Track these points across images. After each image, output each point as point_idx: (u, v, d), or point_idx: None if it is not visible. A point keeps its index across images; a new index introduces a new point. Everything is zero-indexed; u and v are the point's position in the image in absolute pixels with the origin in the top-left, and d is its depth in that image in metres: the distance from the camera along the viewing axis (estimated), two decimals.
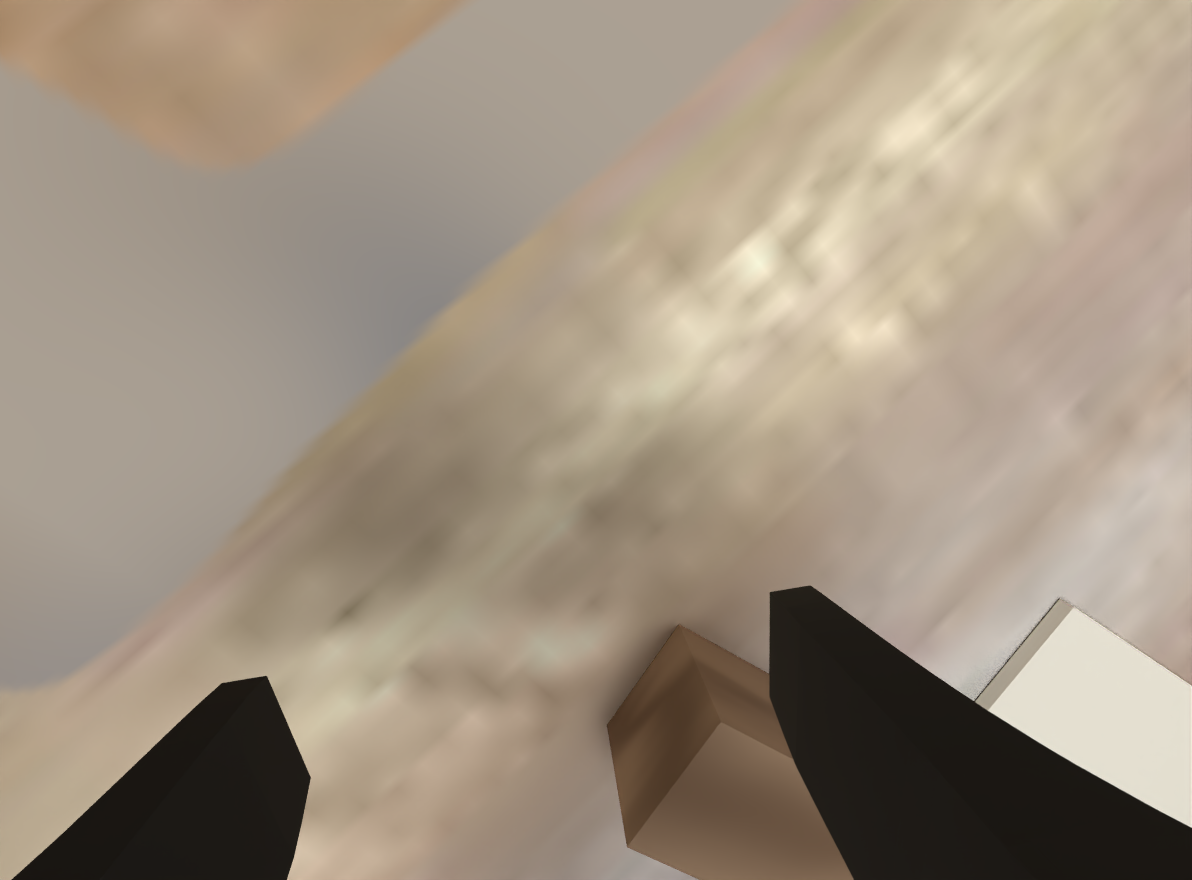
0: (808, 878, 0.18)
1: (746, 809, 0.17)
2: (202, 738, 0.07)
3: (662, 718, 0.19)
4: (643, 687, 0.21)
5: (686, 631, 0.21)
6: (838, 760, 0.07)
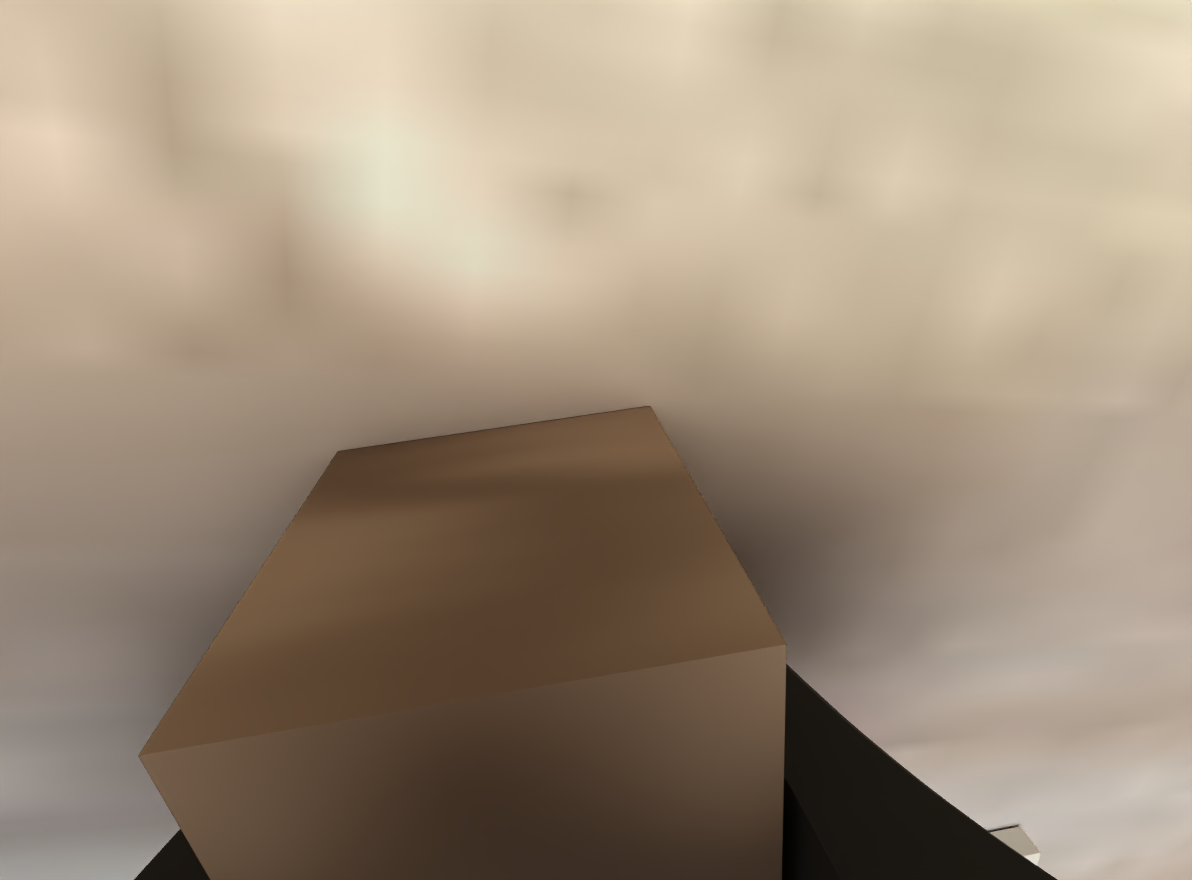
0: None
1: None
2: None
3: (517, 520, 0.06)
4: (487, 447, 0.08)
5: None
6: None
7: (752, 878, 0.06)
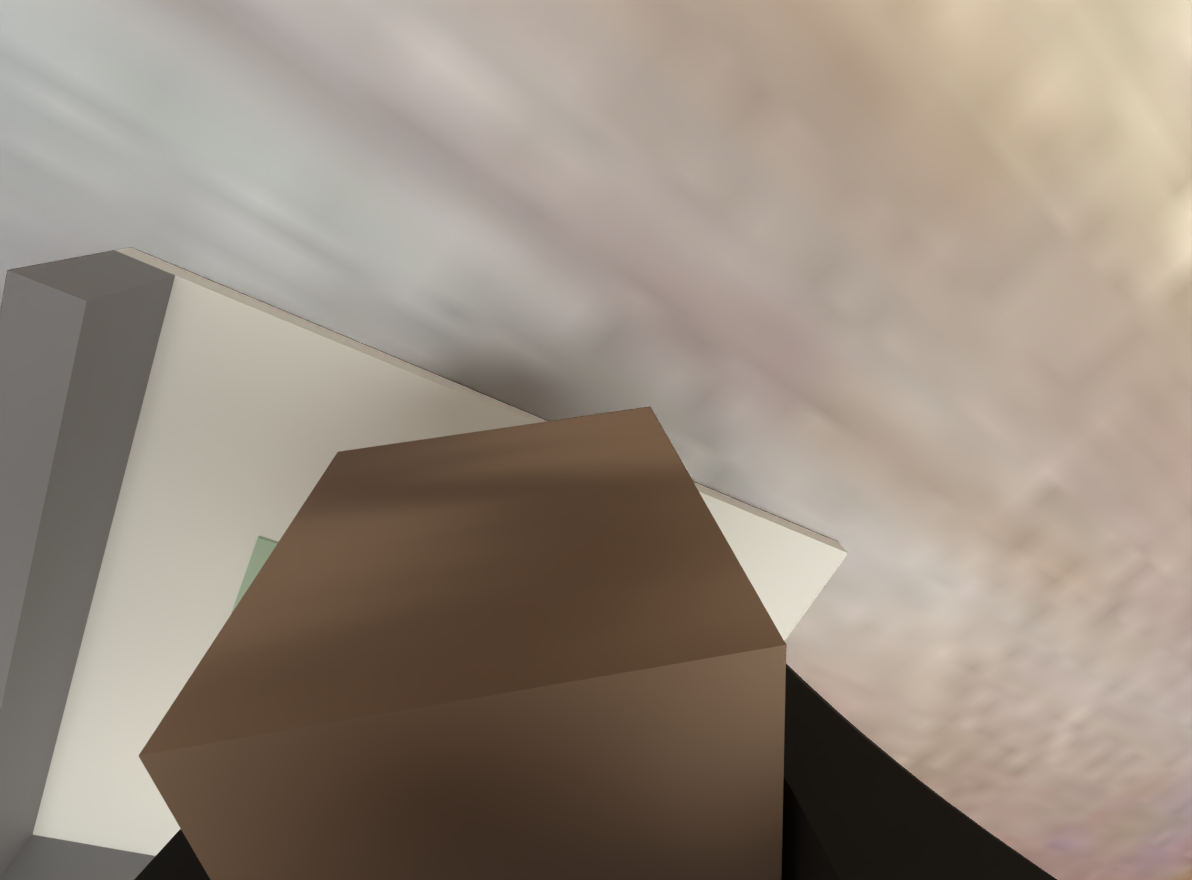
0: None
1: None
2: None
3: (518, 521, 0.06)
4: (487, 448, 0.08)
5: None
6: None
7: (752, 878, 0.06)
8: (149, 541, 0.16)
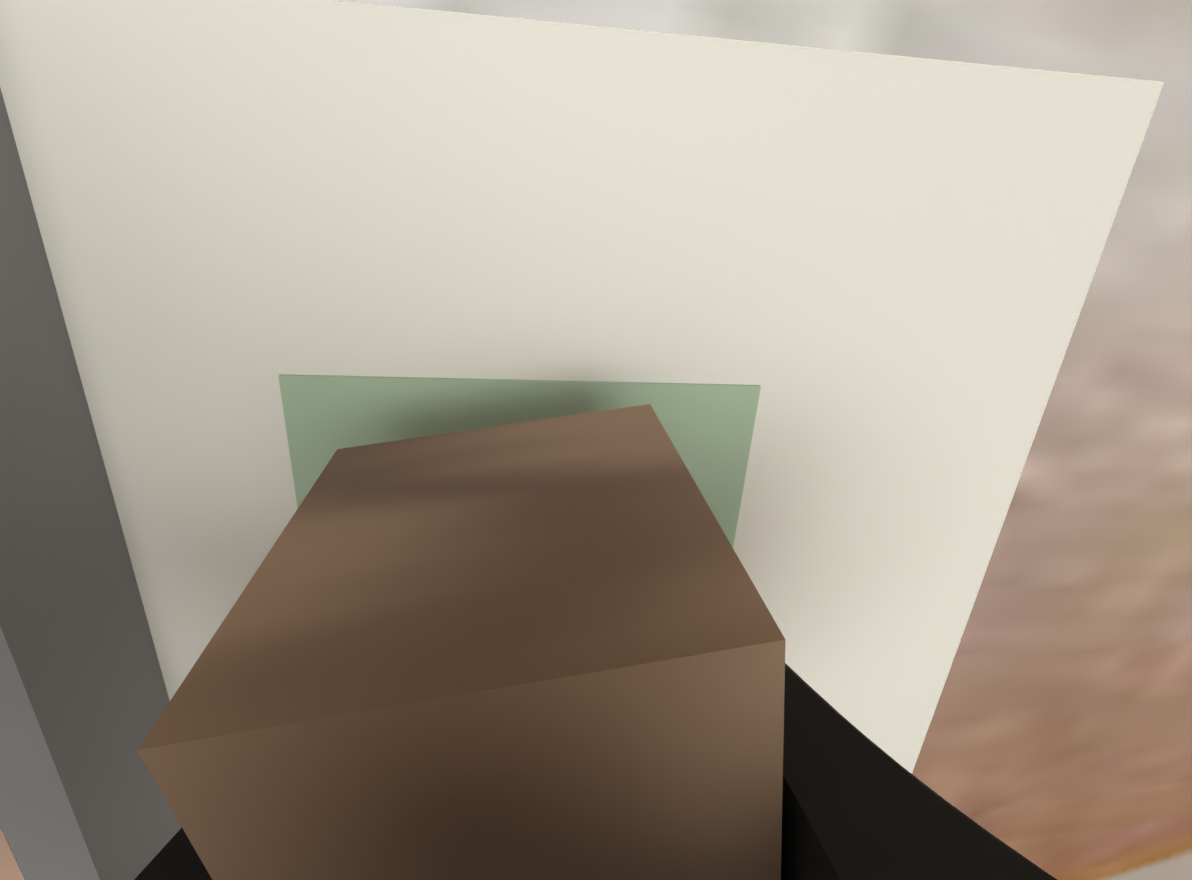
0: None
1: None
2: None
3: (517, 517, 0.06)
4: (487, 445, 0.08)
5: None
6: None
7: (751, 874, 0.06)
8: (150, 433, 0.11)
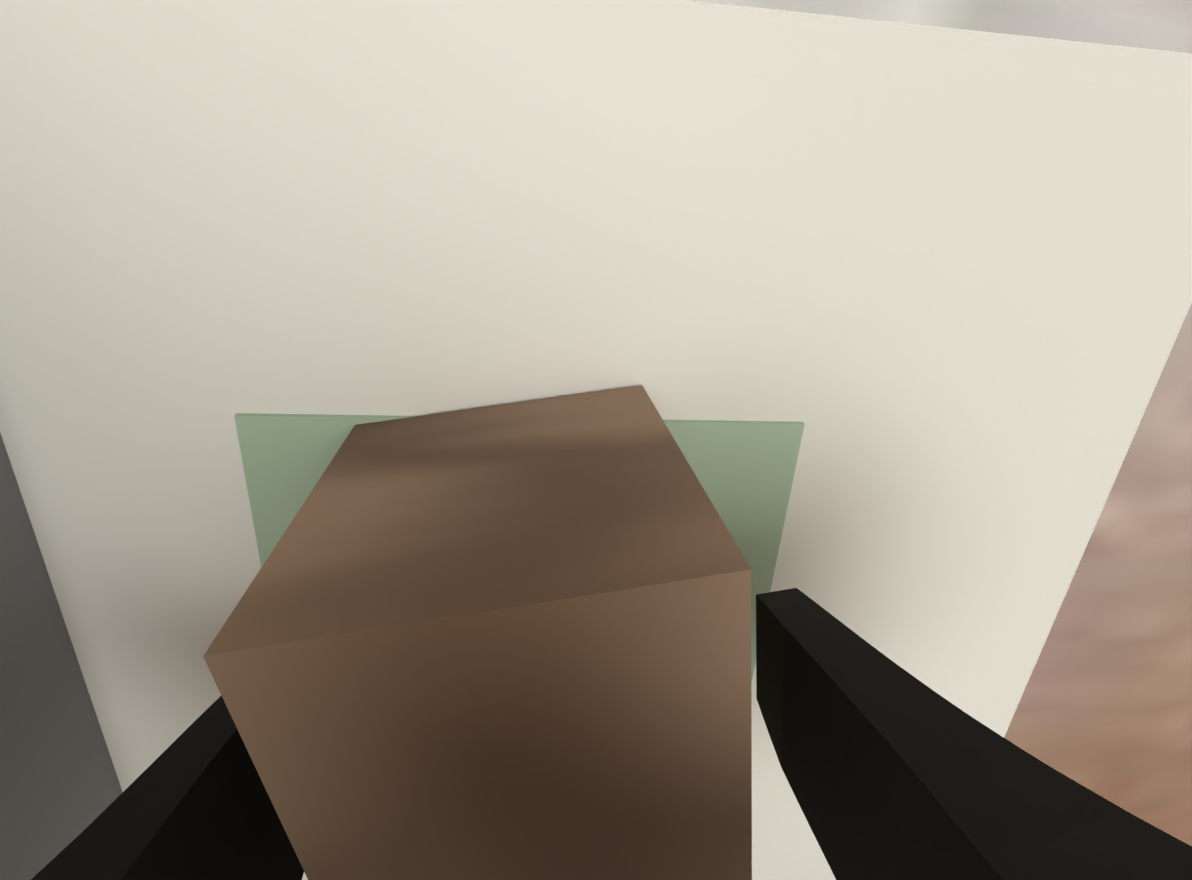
0: None
1: (560, 792, 0.06)
2: (220, 735, 0.07)
3: (521, 480, 0.07)
4: (493, 420, 0.09)
5: None
6: (821, 763, 0.07)
7: (726, 787, 0.06)
8: (83, 482, 0.09)
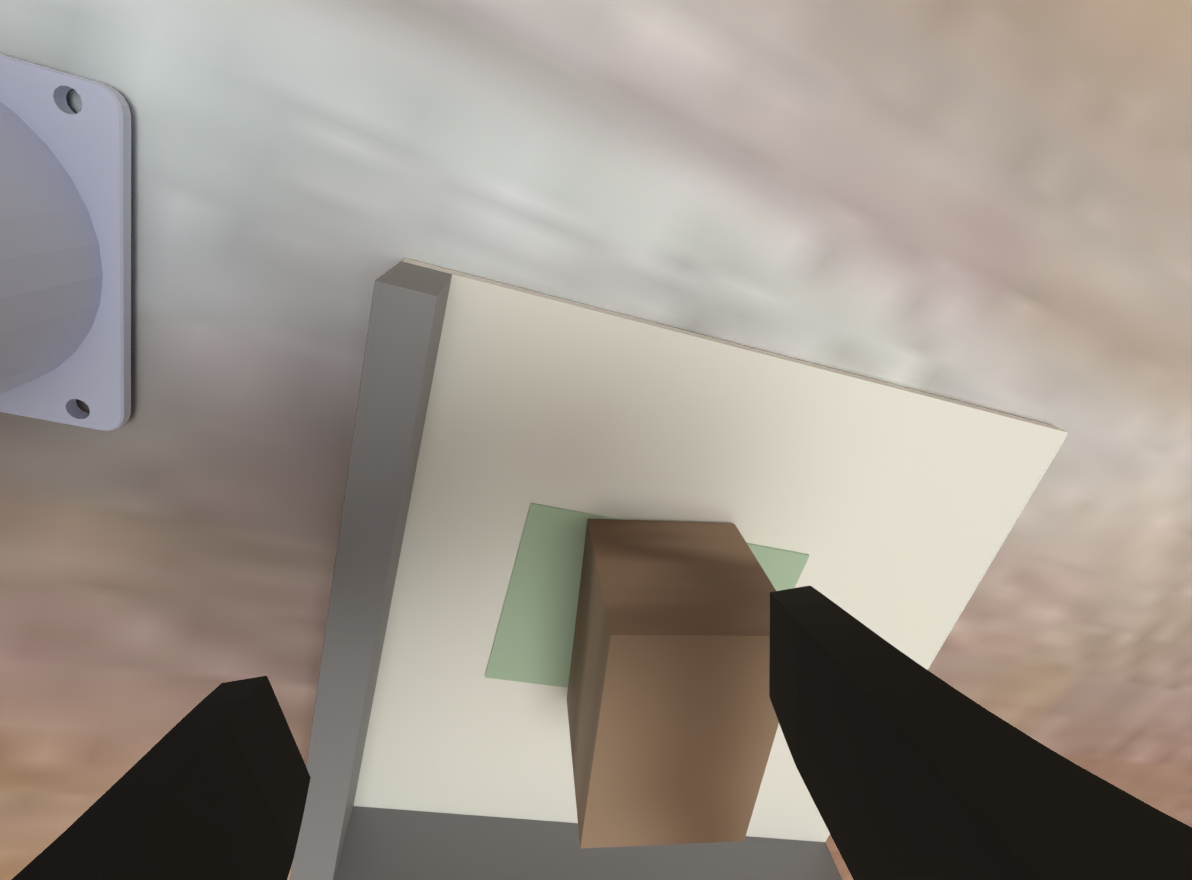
0: (644, 802, 0.16)
1: (706, 711, 0.15)
2: (202, 738, 0.07)
3: (696, 575, 0.16)
4: (664, 532, 0.18)
5: None
6: (838, 760, 0.07)
7: (768, 722, 0.15)
8: (439, 522, 0.18)
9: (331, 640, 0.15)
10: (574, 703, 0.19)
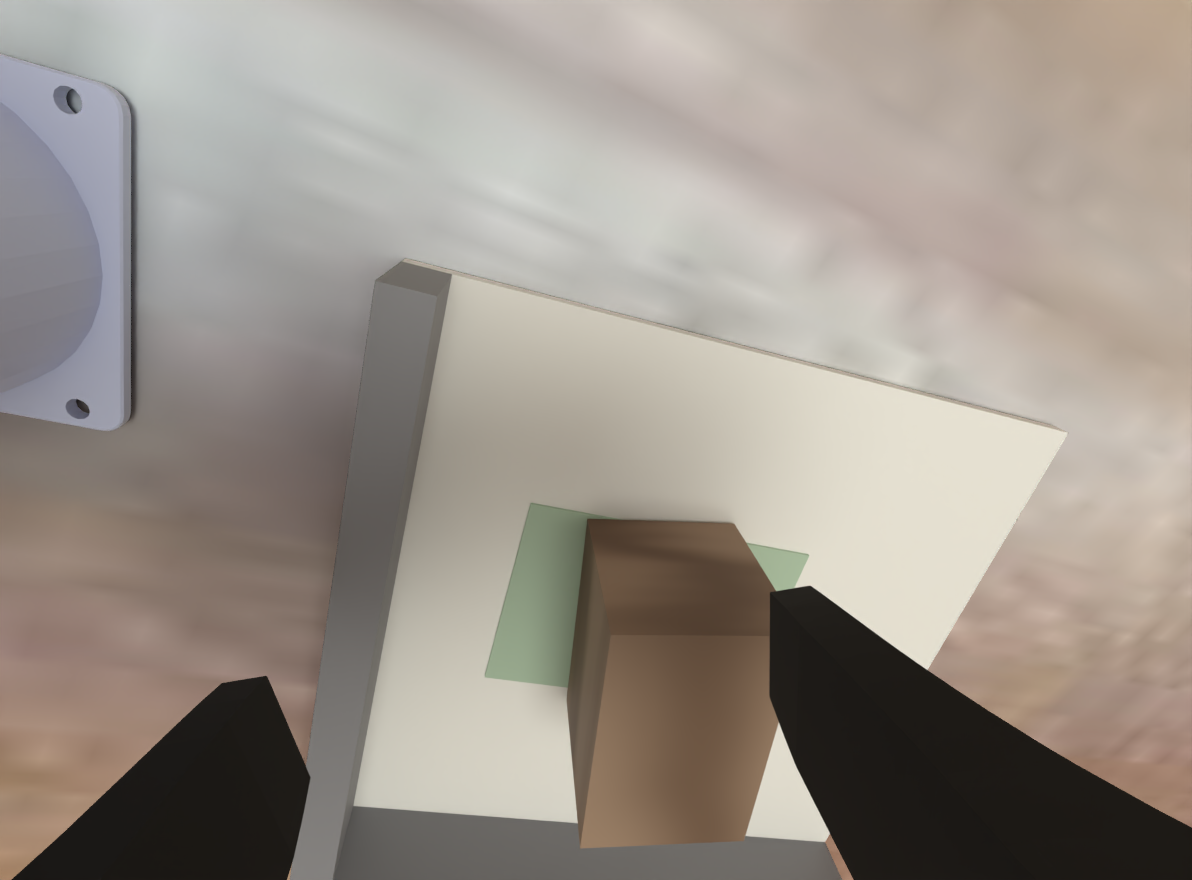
0: (644, 802, 0.16)
1: (706, 711, 0.15)
2: (202, 738, 0.07)
3: (696, 575, 0.16)
4: (664, 532, 0.18)
5: None
6: (838, 760, 0.07)
7: (768, 722, 0.15)
8: (439, 522, 0.18)
9: (331, 640, 0.15)
10: (574, 703, 0.19)
